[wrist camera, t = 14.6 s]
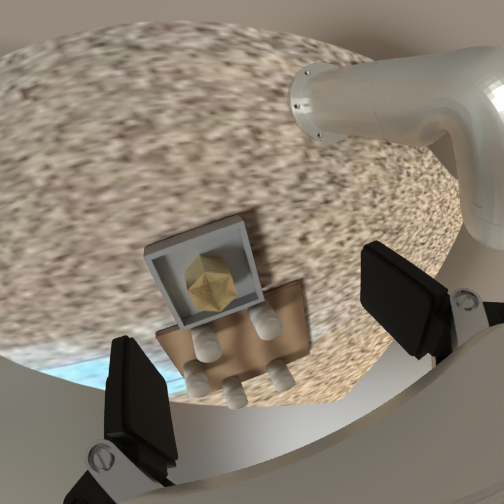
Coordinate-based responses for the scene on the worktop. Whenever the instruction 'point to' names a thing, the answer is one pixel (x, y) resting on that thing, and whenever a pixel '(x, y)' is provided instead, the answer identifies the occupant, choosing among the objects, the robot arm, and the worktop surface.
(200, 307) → the faceted yellow gem
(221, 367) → the board
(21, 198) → the worktop surface
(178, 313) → the tray
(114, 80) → the worktop surface
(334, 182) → the worktop surface
